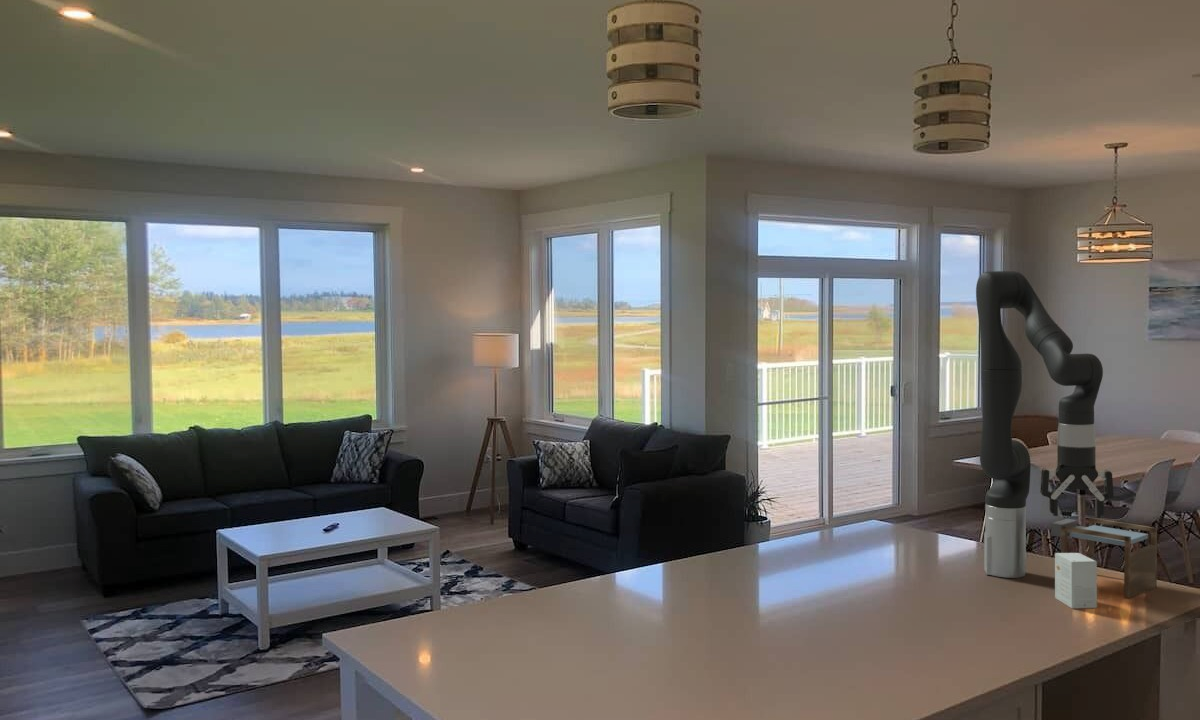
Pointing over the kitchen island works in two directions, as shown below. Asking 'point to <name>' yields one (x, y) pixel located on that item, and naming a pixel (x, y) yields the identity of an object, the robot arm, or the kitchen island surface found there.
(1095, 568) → the small box
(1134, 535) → the trapdoor
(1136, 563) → the trapdoor frame
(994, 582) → the kitchen island surface
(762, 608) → the kitchen island surface
